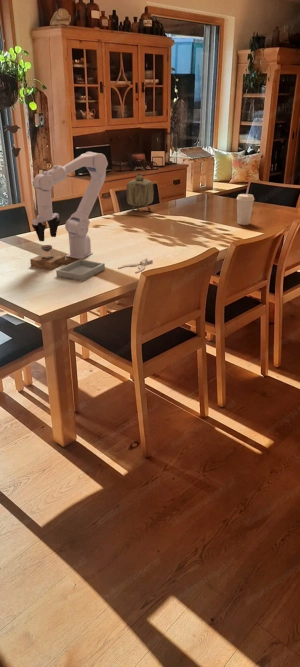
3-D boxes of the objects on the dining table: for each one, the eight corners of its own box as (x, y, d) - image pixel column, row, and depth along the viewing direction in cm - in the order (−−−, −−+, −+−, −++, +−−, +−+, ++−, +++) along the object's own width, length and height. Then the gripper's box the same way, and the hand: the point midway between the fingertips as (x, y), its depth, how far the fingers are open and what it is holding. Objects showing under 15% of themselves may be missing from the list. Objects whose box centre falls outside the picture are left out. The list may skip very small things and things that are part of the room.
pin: (47, 262, 210) (45, 244, 207) (55, 264, 208) (54, 245, 205) (40, 265, 207) (38, 247, 203) (49, 267, 205) (47, 248, 201)
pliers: (117, 265, 203) (140, 256, 213) (117, 269, 203) (140, 260, 214) (136, 270, 197) (158, 261, 208) (136, 274, 198) (158, 264, 209)
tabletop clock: (153, 210, 300) (153, 167, 289) (147, 213, 292) (147, 169, 281) (131, 208, 305) (131, 165, 294) (125, 211, 298) (124, 167, 287)
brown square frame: (46, 259, 213) (45, 252, 212) (65, 263, 209) (64, 256, 208) (30, 266, 205) (30, 259, 204) (50, 270, 201) (49, 262, 200)
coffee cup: (248, 226, 266) (250, 197, 259) (231, 224, 270) (233, 195, 264) (254, 222, 273) (257, 194, 267) (238, 220, 278) (240, 192, 271)
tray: (80, 264, 207) (80, 259, 206) (104, 269, 202) (104, 263, 201) (56, 276, 194) (56, 270, 193) (82, 281, 189) (81, 275, 188)
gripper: (48, 201, 208) (50, 233, 214) (24, 207, 196) (28, 241, 202) (62, 203, 205) (64, 235, 211) (39, 209, 193) (42, 244, 199)
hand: (47, 238), depth 206 cm, fingers open, 7 cm apart
